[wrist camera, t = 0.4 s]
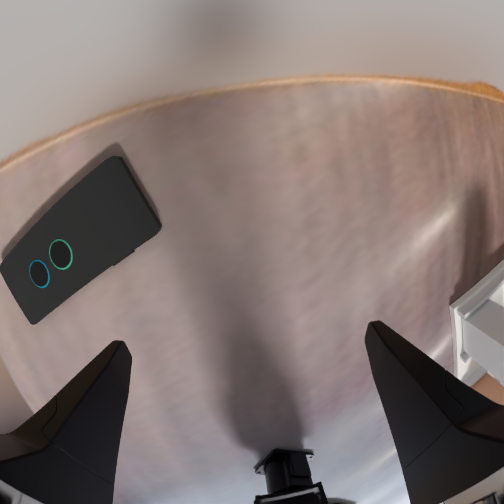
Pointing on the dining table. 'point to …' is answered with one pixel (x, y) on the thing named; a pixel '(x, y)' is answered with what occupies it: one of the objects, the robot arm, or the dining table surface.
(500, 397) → the tall tan brick
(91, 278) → the smart home device
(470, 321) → the tall white block
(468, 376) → the base
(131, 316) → the dining table surface
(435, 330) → the dining table surface
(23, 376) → the dining table surface
